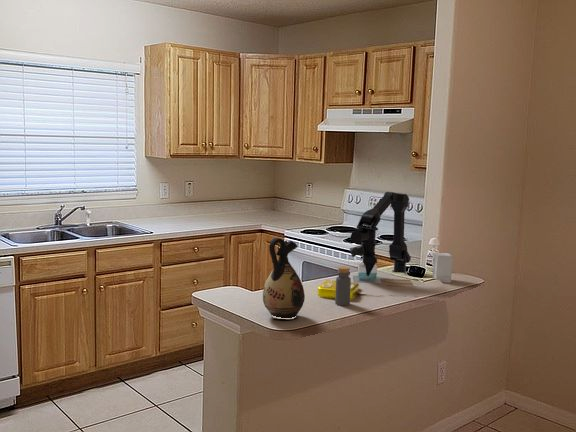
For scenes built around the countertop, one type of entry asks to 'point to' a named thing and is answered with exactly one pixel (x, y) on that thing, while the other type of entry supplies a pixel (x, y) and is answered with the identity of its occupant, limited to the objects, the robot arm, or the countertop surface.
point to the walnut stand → (399, 283)
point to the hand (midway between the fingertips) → (367, 274)
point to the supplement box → (442, 267)
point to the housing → (363, 274)
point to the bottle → (343, 286)
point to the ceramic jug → (283, 283)
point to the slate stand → (366, 280)
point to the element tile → (329, 289)
